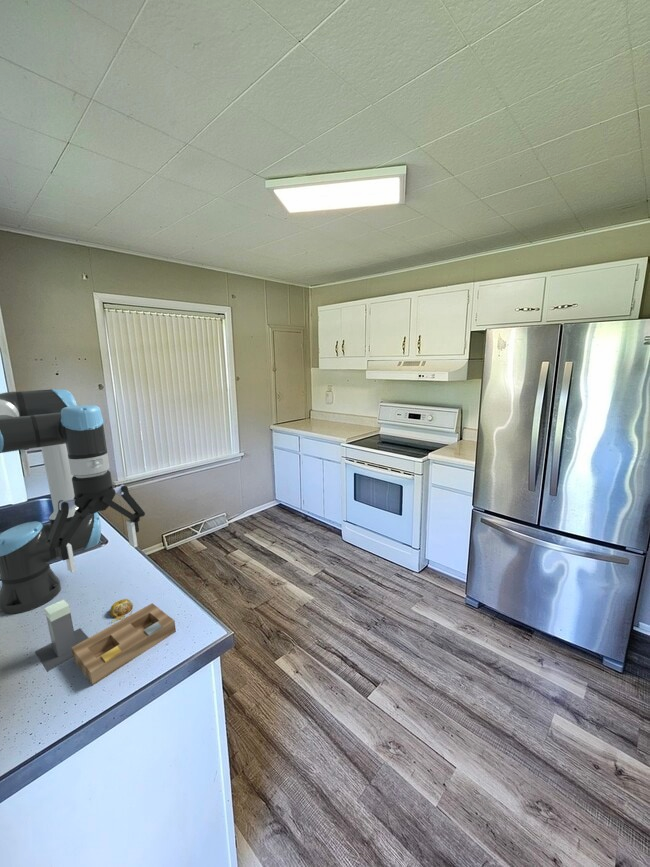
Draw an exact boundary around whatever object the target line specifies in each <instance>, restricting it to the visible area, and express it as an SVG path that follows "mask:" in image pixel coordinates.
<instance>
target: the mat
mask: <svg viewBox="0 0 650 867" xmlns="http://www.w3.org/2000/svg"><path fill="white" fill-rule="evenodd" d="M74 634H75V639H76V645H77V644H79V643H81V642H82V641H84V640H86V639H88V638H89V636H88V635H87V634H86V633H85V632H84V631H83V629H82V628H80V627H79V628H77V629H76V630H75V629H74ZM34 652H35V654H36V656H37V657H38V659H39V660H40V662H41V664H42V665H43V667H44V669H45V670H46V672H49V671H51V670H53V669H55V668H57V667H58V666H61V665H62V664H63V663H66V662H67V661H69V660H71V659H73V654H72V650H70V651H68V652H67V653H65V654H63V655H61V656H59V657H58V656H57V654H56V653H55V652H54V650H53V647H52V642H50V643H49V644H46V645H45V646H42V647H41V648H39V649H37V650H35V651H34Z"/></svg>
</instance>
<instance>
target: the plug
mask: <svg viewBox="0 0 650 867" xmlns="http://www.w3.org/2000/svg"><path fill="white" fill-rule="evenodd" d="M70 607H71V606H70V605H69V604H68V602H66V600H65V599H61V600H59V601H57V602H54V603H53V604H51V605H48V606H47V607H44V611H45V616H46V621H47V626H48V632H49V636H50V641H51V642H50V643H52V647H53V650H54V652H55V653H56V654H57V656H58V657H59V656H61V655H63V654H65V653H67V652H68V651H70V650H72V649H71V647H73V646H75V645H76V639H75V634H74V631H75V629H74V624H73V619H72V615H71V614H72V613H71V608H70Z"/></svg>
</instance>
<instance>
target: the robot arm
mask: <svg viewBox="0 0 650 867" xmlns="http://www.w3.org/2000/svg"><path fill="white" fill-rule="evenodd" d="M104 420H105V419H104V418H103V415H102V409H101V408H100V406H98V405H95V404H81V405H78V403H77V402H76V399H75V396H74V395H73V393H71V392H70V391H69V390H67V389H64V388H63V389H58V388H57V389H56V388H55V389H54V388H49V389H38V390H25V391H24V390H23V391H21V390H20V391H7V392H2V393H0V454H2V453H3V454H4V453H10V452H17V451H22V450H31V449H36V448H37V449H38V448H41V454H42V458H43V464H44V468H45V474H46V479H47V484H48V488H49V494H50V498H51V504H52V509H53V512H52V513H51V514H50V516H49V517H48V519H49V523H46V524H43V523H41V521H36V520H35V521H28V522H25V523H20V524H17V525H14V526H13V527H10V528H8V529H6V530H5V531H3V532H1V533H0V580H1V587H0V612H1V613H3V614H6V613H7V614H8V615H12V614H13V615H14V614H21V613H24V612H28V611H31V610H33V609H34V610H35V609H36V608H38V607H41V606H42V605H43V606H44V605H45V604H47V603H48V602H50V601H51V600H53V599H54V598H56V597H57V596H58V595H59V593H60V592H61V590H62V587H61V586H62V585H61V581H60V579H59V578H58V576H57V575H56V573H54V571H53V570H52V568H51V564H50V562H51V561H55V560H57V559H61V560H63V561H66V567H67V570H68V571H69V572H70V573H71V574H74V573H77V569H76V562H75V558H74V557H75V556H74V554H75V553H79V552H83V551H86V550H89V549H90V548H93V547H95V546H97V545H98V544H99V543H100V541H101V537H102V536H101V534H102V527H101V526H102V525H101V521H100V515H99V513H98V512H102V511H106V510H107V509H108V508H109V507H110V508H112V509H113V510H115V511H116V512H118V513H120V514H121V515H122V516H124V517H126V518H128V520H126V523H125V524H126V529H127V536H128V542H129V545H130V546H132V547H134V548H137V547H138V540H137V533H139V531H140V526H139V521H140V519H141V518H142V517H144V516H145V515H146V512H145V511H144V510H143V509H142V507H141V506H140V504H138V502H137V501H136V500H135V498H133V497H132V496H131V494H130V493H129V488H128V486H127V485H125V484H122V483H120V484H118V486H117V487H113V480H112V474H111V471H109V469H111V468H110V460H109V454H108V449H107V440H106V435H105V434H106V432H105V427H104ZM116 494H117V495H119V496H121V497H122V499H123V500H124V501H125V502H126V503H127V505H128V506H129V508H131V509H132V510H133V512H134V513H132V512H131V511H128V510H127V509H125V508H124V507H122V506H121V505H120V504H118V503H117V502H115V501H113V499H114V498H115V496H116ZM7 614H6V615H7Z"/></svg>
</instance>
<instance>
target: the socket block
mask: <svg viewBox="0 0 650 867" xmlns="http://www.w3.org/2000/svg"><path fill="white" fill-rule="evenodd" d="M176 632H177V631H176V622H175V619H173V618H172V617H170V615H169V614H167V613H165V612H164V611H163V610H161V609H160V608H159V607H158V606H157V605H155V604H154V603H150V604H148V605H146V606H144V607H143V608H141V609H138V610H137V611H135V612H132V614H131V615H128V616H127V617H126V616H125V618H124V619H122V620H118V621H116V622H114V623H112V624H111V625H110V626H108V627H106V628H104V629H103V630H101V631H99V632H97V633H95V634H94V635H92V636H89V637H88V639H86V640H84V641H82V642H81V643H79V644H77V645H75V646H73V647H71V649H72V654H73V658H72V659H73V662H75V664H76V665H77V667H78V668H79V669H80V671H81V672H82V674H84V676H85V677H86V678H87V681H89V682H90V684H91V685H92V686H95V685H96V684H98V683H99V682H101V681H102V680H103V679H105V678H107V677H108V676H110V675H112V674H113V673H115V672H117V671H118V670H119V669H121V668H122V667H124V666H126V665H127V664H129V663H131V662H132V661H133V660H134V659H136V658H138V657H139V656H141V655H143V654H144V653H145V652H147V651H149V650H151V649H152V648H153V647H155V646H157V645H158V644H160V643H161V642H163V641H164V640H165V639H168V638H169V637H170V636H172V635H173V634H175V633H176Z"/></svg>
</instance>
